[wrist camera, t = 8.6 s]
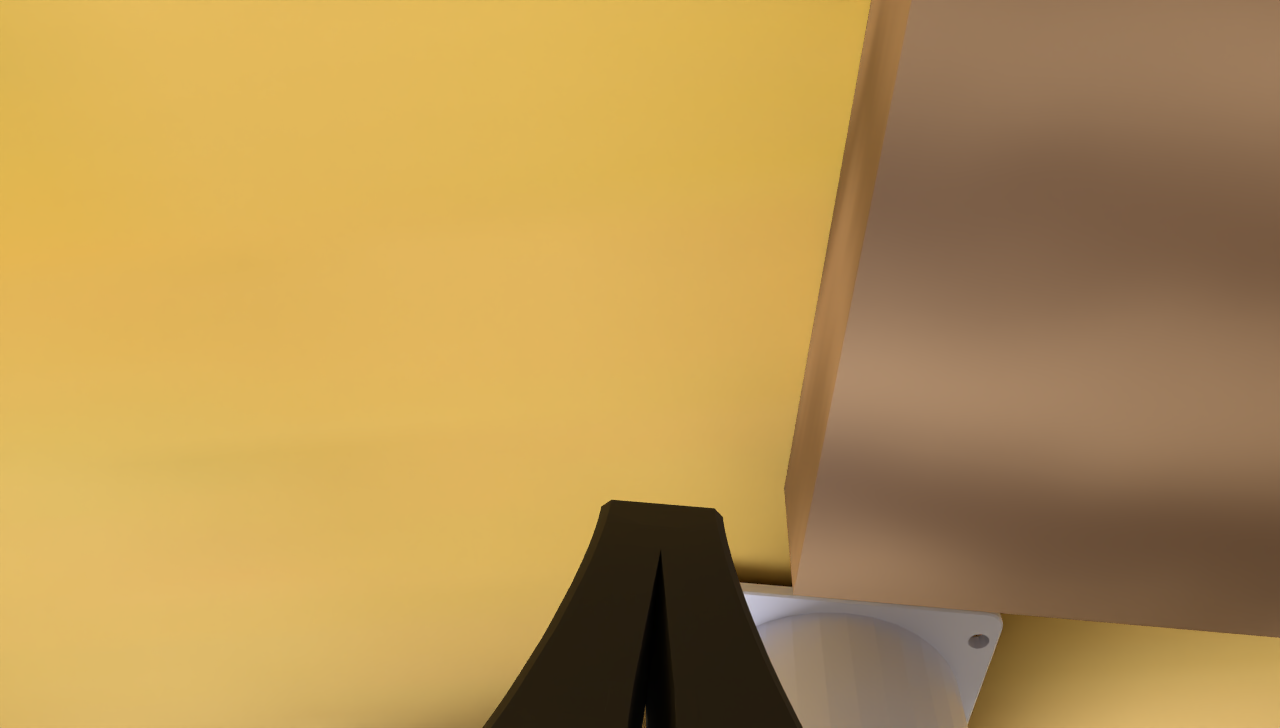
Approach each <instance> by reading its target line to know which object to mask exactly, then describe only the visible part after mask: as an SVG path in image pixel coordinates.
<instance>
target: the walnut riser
mask: <svg viewBox="0 0 1280 728" xmlns="http://www.w3.org/2000/svg"><path fill="white" fill-rule="evenodd" d="M784 491H785V503H786V515H787V527H788V539H789V551H790V562H791V574H792V586H793V595H800V596H811V597H823V598H834V599H845V600H857V601H868V602H880V603H891V604H902V605H914V606H925V607H937V608H948V609H959V610H971V611H982V612H994V613H1005V614H1016V615H1028V616H1039V617H1050V618H1062V619H1073V620H1085V621H1096V622H1107V623H1119V624H1130V625H1142V626H1153V627H1164V628H1176V629H1187V630H1199V631H1210V632H1221V633H1233V634H1244V635H1256V636H1267V637H1278V638H1280V0H871V5H870V10H869V16H868V21H867V27H866V33H865V38H864V44H863V49H862V55H861V61H860V66H859V72H858V78H857V83H856V89H855V94H854V100H853V106H852V111H851V117H850V122H849V128H848V134H847V139H846V145H845V150H844V156H843V162H842V167H841V173H840V179H839V184H838V190H837V195H836V201H835V207H834V212H833V218H832V223H831V229H830V235H829V240H828V246H827V252H826V257H825V263H824V268H823V274H822V280H821V285H820V291H819V296H818V302H817V308H816V313H815V319H814V324H813V330H812V336H811V341H810V347H809V353H808V358H807V364H806V369H805V375H804V381H803V386H802V392H801V397H800V403H799V409H798V414H797V420H796V425H795V431H794V437H793V442H792V448H791V454H790V459H789V465H788V470H787V476H786V482H785V487H784Z"/></svg>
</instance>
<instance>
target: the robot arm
mask: <svg viewBox="0 0 1280 728" xmlns="http://www.w3.org/2000/svg"><path fill="white" fill-rule="evenodd" d="M1002 629H1003V621H1002V618H1001V614H1000V613H994V612H982V611H971V610H959V609H948V608H937V607H925V606H914V605H902V604H891V603H880V602H868V601H857V600H845V599H834V598H823V597H811V596H800V595H793V587H786V586H775V585H764V584H752V583H741V582H739V579H738V576H737V573H736V570H735V567H734V564H733V560H732V557H731V553H730V550H729V546H728V542H727V538H726V533H725V529H724V523H723V517H722V516H721V515H720V514H719V513H718V512H717V511H716V510H715V509H714V508H702V507H690V506H678V505H667V504H655V503H643V502H631V501H619V500H611V501H609V502H608V503H606V504H605V505H603V506H602V507H601V511H600V515H599V519H598V522H597V525H596V528H595V531H594V534H593V536H592V539H591V542H590V544H589V547H588V549H587V551H586V554H585V556H584V558H583V561H582V563H581V565H580V567H579V569H578V571H577V573H576V575H575V578H574V580H573V582H572V584H571V586H570V588H569V590H568V591H567V593H566V595H565V597H564V599H563V601H562V603H561V604H560V606H559V608H558V610H557V612H556V614H555V616H554V617H553V619H552V621H551V623H550V625H549V627H548V628H547V630H546V632H545V634H544V635H543V637H542V639H541V640H540V642H539V644H538V645H537V647H536V648H535V650H534V652H533V653H532V655H531V656H530V658H529V659H528V661H527V663H526V664H525V666H524V667H523V669H522V671H521V672H520V674H519V675H518V677H517V678H516V680H515V682H514V683H513V685H512V686H511V688H510V689H509V691H508V692H507V694H506V695H505V697H504V698H503V700H502V701H501V703H500V704H499V705H498V707H497V708H496V710H495V711H494V713H493V714H492V716H491V717H490V718H489V720H488V721H487V722H486V724H485V725H484V727H483V728H642V724H643V718H644V711H645V705H646V728H968V722H969V719H970V717H971V714H972V711H973V708H974V706H975V703H976V700H977V697H978V695H979V692H980V689H981V686H982V684H983V681H984V678H985V675H986V673H987V670H988V667H989V664H990V662H991V659H992V656H993V653H994V651H995V648H996V645H997V642H998V640H999V637H1000V634H1001V631H1002ZM979 634H982V635H980V636H976V637H972V636H974V635H979Z"/></svg>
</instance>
